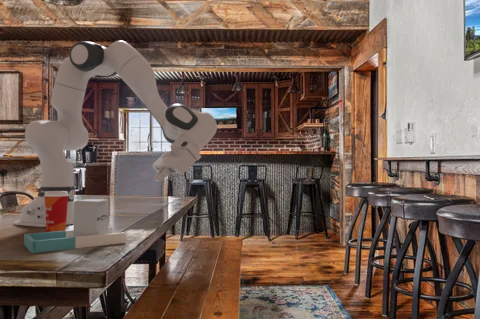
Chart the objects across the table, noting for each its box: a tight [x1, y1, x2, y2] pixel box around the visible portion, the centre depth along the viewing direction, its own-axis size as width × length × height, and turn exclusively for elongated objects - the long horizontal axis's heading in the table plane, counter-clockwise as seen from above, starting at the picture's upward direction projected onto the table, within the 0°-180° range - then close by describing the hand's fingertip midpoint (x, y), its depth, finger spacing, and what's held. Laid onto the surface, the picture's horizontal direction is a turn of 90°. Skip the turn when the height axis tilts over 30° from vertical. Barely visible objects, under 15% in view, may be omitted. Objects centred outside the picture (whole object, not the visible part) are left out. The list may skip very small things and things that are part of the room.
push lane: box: [23, 226, 126, 254], centre depth 119 cm, size 25×13×3 cm, turn 125°
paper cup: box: [44, 191, 69, 232], centre depth 133 cm, size 8×8×14 cm
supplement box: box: [73, 198, 109, 237], centre depth 121 cm, size 7×7×13 cm
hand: (156, 180), depth 133 cm, fingers closed
